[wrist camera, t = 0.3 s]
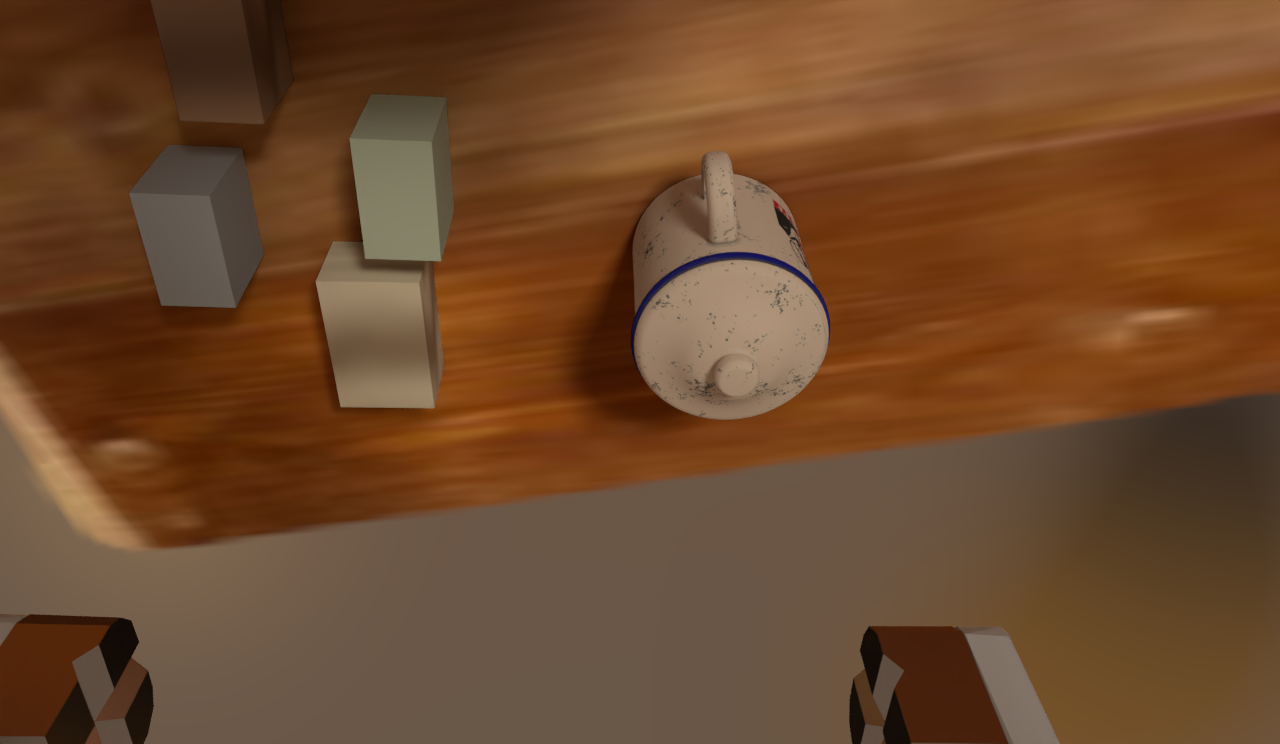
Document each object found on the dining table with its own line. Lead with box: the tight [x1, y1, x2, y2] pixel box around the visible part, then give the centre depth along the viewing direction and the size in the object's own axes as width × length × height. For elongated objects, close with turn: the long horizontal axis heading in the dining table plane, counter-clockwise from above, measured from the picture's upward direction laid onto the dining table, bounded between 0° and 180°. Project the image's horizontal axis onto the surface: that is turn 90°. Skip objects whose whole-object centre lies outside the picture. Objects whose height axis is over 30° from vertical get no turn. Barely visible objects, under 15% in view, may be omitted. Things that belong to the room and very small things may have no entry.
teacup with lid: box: [631, 151, 830, 420], centre depth 46 cm, size 12×9×12 cm
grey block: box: [129, 145, 264, 308], centre depth 48 cm, size 6×4×5 cm, turn 177°
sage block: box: [349, 94, 454, 261], centre depth 46 cm, size 6×4×5 cm, turn 177°
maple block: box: [316, 241, 444, 408], centre depth 52 cm, size 8×5×4 cm, turn 178°
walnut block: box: [151, 0, 293, 124], centre depth 42 cm, size 6×4×5 cm, turn 177°
